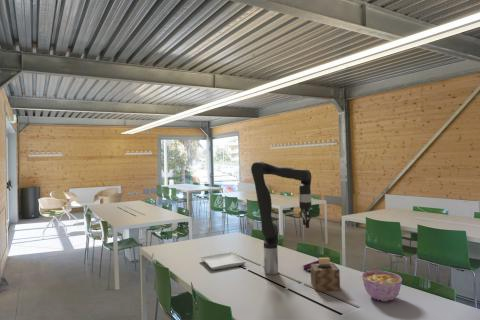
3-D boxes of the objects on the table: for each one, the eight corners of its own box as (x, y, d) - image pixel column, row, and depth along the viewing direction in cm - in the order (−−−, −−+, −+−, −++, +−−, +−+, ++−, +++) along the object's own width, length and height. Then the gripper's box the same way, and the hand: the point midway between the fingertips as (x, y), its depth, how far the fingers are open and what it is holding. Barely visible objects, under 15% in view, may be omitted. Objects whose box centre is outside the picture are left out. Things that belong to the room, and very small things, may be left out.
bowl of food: (391, 289, 190) (390, 269, 189) (410, 305, 170) (409, 282, 169) (356, 291, 189) (356, 271, 189) (371, 307, 169) (371, 284, 169)
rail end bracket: (320, 276, 196) (319, 259, 196) (319, 274, 199) (318, 257, 199) (330, 275, 196) (329, 258, 195) (329, 274, 198) (328, 257, 198)
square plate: (211, 272, 230) (211, 267, 230) (199, 261, 254) (199, 256, 254) (247, 266, 241) (246, 260, 241) (232, 256, 266) (232, 251, 266)
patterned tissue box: (315, 291, 191) (315, 270, 191) (311, 283, 203) (310, 263, 203) (340, 290, 191) (339, 269, 191) (334, 282, 203) (333, 263, 203)
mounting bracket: (304, 278, 227) (324, 273, 214) (300, 266, 230) (319, 260, 217) (313, 275, 233) (332, 269, 220) (309, 263, 236) (327, 257, 223)
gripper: (297, 199, 219) (298, 224, 220) (301, 202, 205) (302, 228, 205) (308, 199, 220) (309, 223, 220) (313, 202, 205) (314, 228, 205)
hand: (305, 226), depth 213 cm, fingers open, 8 cm apart
